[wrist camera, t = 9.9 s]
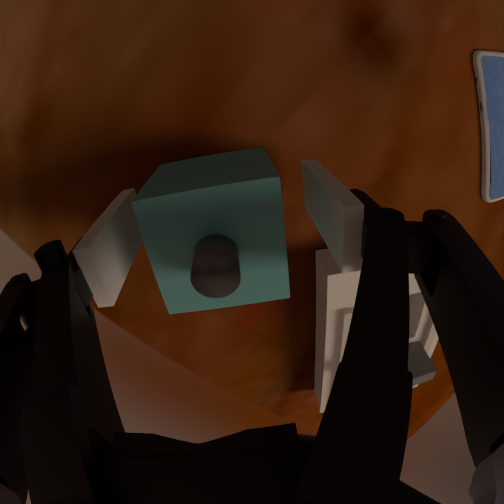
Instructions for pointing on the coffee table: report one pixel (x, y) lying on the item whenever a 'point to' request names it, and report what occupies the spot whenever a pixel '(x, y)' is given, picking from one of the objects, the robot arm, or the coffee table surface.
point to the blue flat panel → (491, 121)
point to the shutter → (420, 364)
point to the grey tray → (339, 318)
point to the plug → (215, 231)
